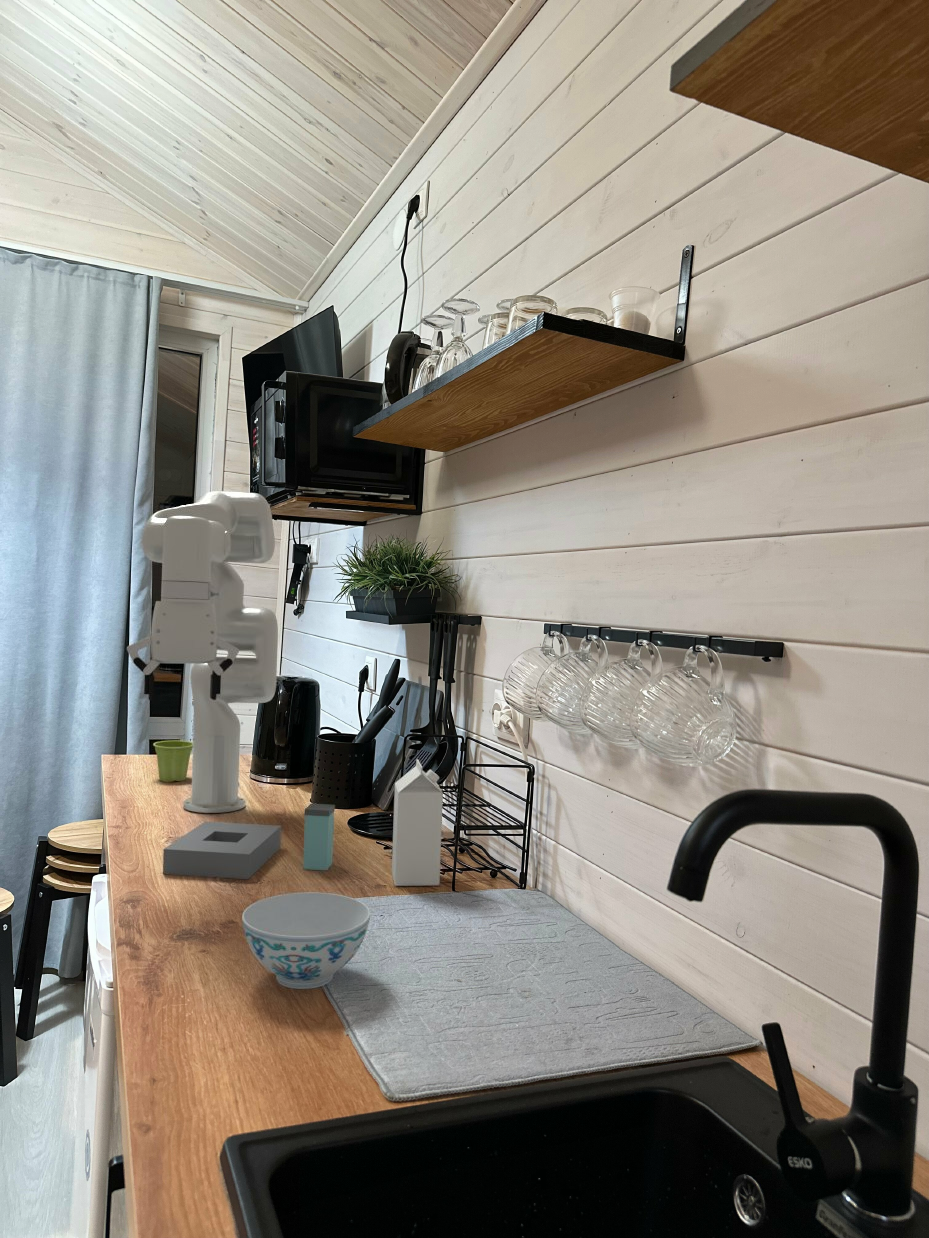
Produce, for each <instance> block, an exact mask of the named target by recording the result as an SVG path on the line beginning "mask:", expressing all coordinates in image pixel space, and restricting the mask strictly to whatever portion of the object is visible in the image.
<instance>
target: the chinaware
mask: <svg viewBox="0 0 929 1238" xmlns="http://www.w3.org/2000/svg"><path fill="white" fill-rule="evenodd" d="M241 915H242V916H241V920H242V927H243V932H244V935H245V939H246V941H247V944H248V946H249V949H250V950H251V952H252V954H253V955H254V957H255V959H256V960H258V962H259V963H260V964H261V965H262V966H263V967H264V968H265V969H266V970H268V971H269V972H271V973H272V974H274V975H275V977H276V978H275V979H276V981H277V983H278V984H279V985H281V986H284V987H285V988H289V989H294V990H309V989H316V988H320V987H322V986H325V985H327V984H328V983H330V982H331V981H332V980H333V978H334V974H335V973H336V972H338V971H339V970H341V969H342V968H343V967H344V966H346V965H347V964H348V963H349V962H350V961H351V959H353V957H354V956H355V955H356V953H357V952H358V950H359V949H360V947H361V945H362V944H363V940H364V939H365V937H366V934H367V931H368V927H369V923H370V918H371V910H370V908H369V907H368V906H367V904H365V903H364V902H362V901H360V900H358V899H356V898H352V897H350V896H347V895H341V894H337V893H330V892H329V893H328V892H316V891H315V892H314V891H312V892H310V891H308V892H294V893H293V892H291V893H286V894H285V893H284V894H279V895H278V894H277V895H275V896H270V897H266V898H263V899H260V900H258V901H256V902H254V903H252V904H250V905H249V906H248V907H246V908H245V909H244V911H243V912H242V914H241Z"/></svg>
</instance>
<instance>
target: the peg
mask: <svg viewBox="0 0 929 1238" xmlns="http://www.w3.org/2000/svg"><path fill="white" fill-rule="evenodd" d="M335 808H336V804H328V803H327V804H324V803H310V804H308V805H307V806H306V807H305V808H304V829H303V830H304V834H303V838H304V839H303V856H302V857H303V861H302V870H315V871H327V870H329V868H330V867H331V866H332V865H333V855H334V854H333V852H334V851H333V850H334V828H335V827H334V826H335V825H334V823H335V811H336V810H335Z"/></svg>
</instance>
